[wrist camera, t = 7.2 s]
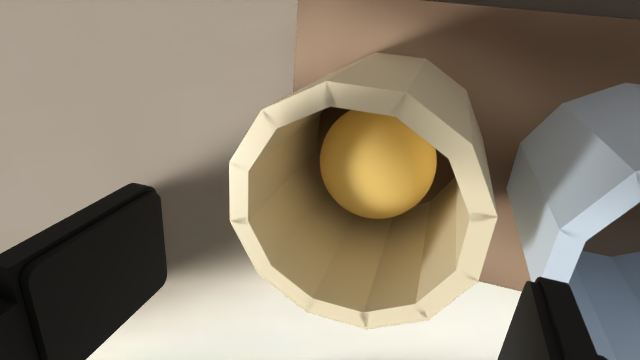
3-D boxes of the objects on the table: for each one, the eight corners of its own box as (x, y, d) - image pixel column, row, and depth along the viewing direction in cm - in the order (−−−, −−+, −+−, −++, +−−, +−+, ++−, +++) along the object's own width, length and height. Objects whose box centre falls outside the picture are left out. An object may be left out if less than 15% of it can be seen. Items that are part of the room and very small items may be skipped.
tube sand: (311, 44, 19) (227, 67, 12) (500, 67, 17) (529, 110, 10) (300, 202, 23) (230, 290, 16) (456, 236, 21) (456, 354, 14)
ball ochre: (341, 85, 20) (308, 109, 15) (449, 100, 18) (446, 132, 14) (332, 180, 22) (300, 225, 17) (428, 199, 20) (419, 253, 16)
